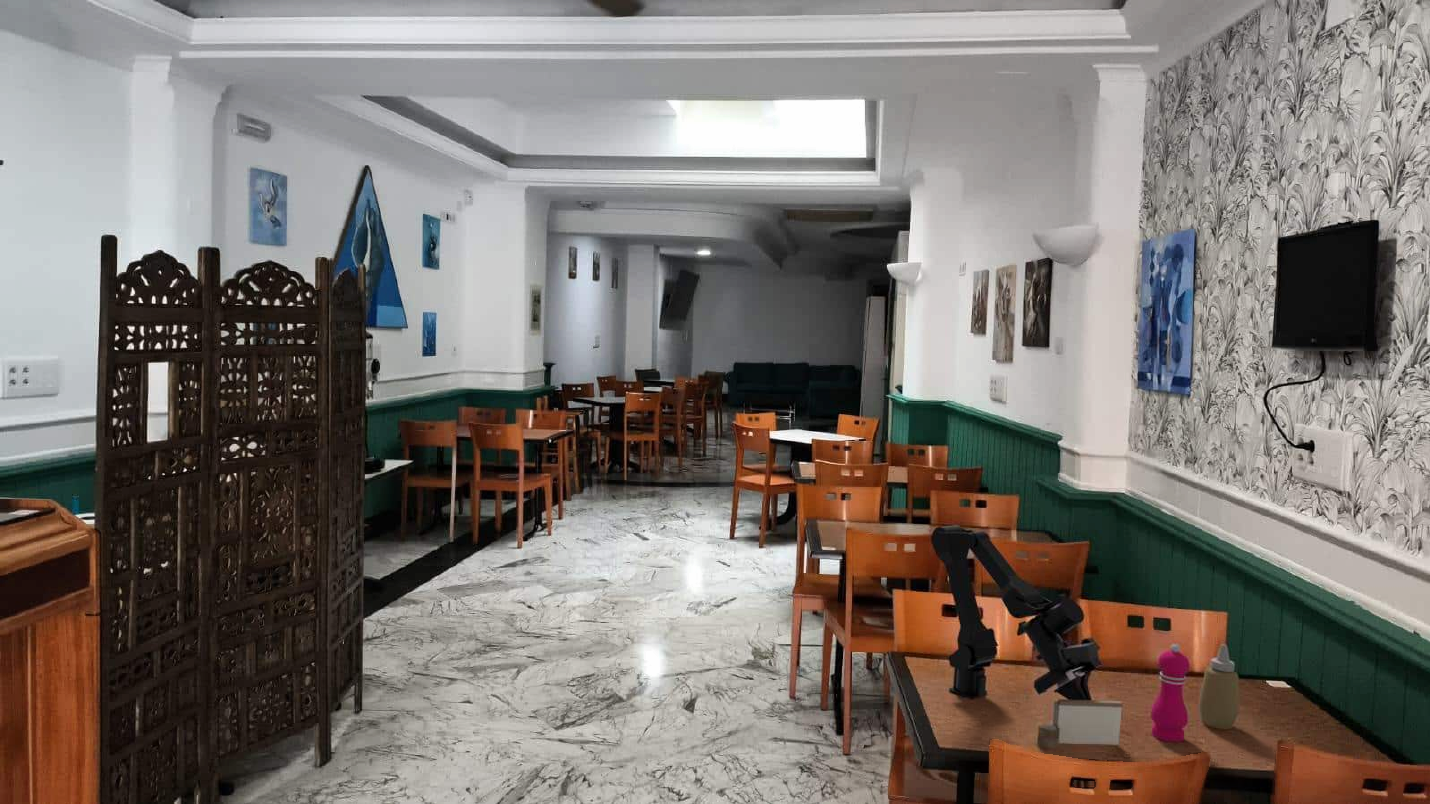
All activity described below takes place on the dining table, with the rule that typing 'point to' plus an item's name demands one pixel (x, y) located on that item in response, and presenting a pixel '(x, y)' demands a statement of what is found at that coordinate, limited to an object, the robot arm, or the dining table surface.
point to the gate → (1088, 721)
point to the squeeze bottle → (1220, 692)
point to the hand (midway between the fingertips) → (1091, 712)
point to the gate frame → (1048, 736)
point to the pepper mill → (1170, 697)
